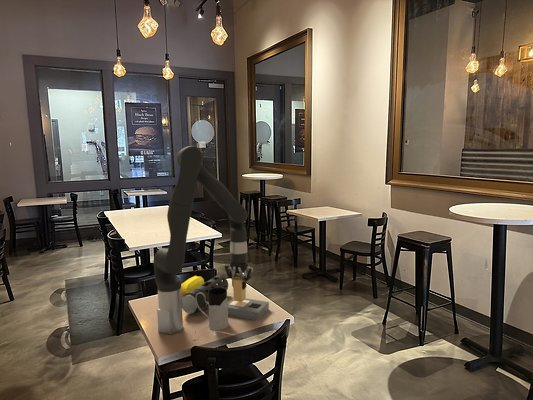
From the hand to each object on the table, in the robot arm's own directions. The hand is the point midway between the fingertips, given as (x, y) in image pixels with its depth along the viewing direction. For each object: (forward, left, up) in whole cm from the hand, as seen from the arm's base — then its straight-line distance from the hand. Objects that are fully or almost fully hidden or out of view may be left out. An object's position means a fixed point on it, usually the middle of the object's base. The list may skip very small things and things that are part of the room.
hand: (239, 288), depth 169 cm
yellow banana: (+13, +34, -11) cm, 39 cm away
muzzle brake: (+1, +18, -11) cm, 22 cm away
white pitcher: (-16, +4, -11) cm, 20 cm away
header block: (0, -4, -11) cm, 12 cm away
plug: (0, 0, -5) cm, 5 cm away
